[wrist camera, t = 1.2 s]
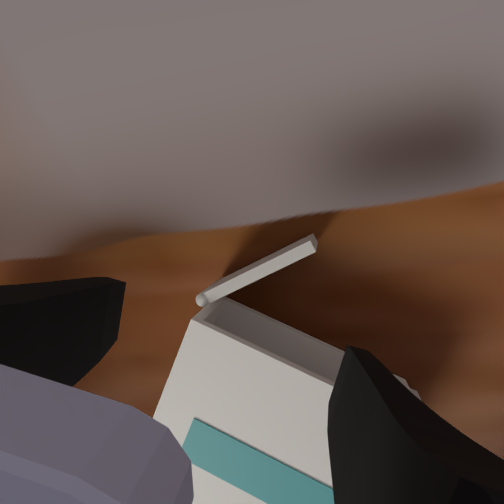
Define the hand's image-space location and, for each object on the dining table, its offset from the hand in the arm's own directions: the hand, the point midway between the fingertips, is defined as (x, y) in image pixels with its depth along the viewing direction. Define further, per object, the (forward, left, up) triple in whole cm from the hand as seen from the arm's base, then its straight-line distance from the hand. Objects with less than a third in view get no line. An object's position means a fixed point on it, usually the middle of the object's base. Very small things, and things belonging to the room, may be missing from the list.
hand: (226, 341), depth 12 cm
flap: (+1, 0, -11) cm, 11 cm away
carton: (-3, +12, -11) cm, 16 cm away
